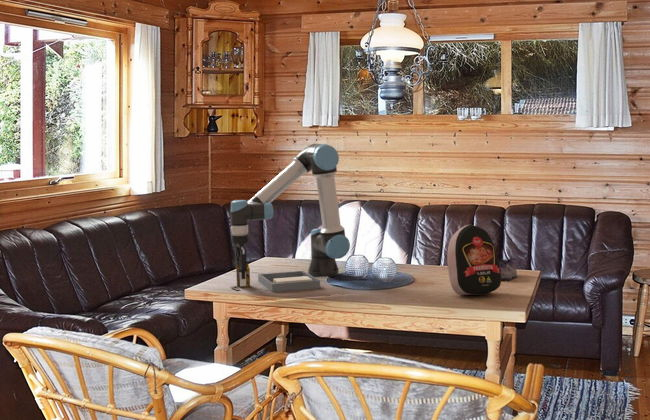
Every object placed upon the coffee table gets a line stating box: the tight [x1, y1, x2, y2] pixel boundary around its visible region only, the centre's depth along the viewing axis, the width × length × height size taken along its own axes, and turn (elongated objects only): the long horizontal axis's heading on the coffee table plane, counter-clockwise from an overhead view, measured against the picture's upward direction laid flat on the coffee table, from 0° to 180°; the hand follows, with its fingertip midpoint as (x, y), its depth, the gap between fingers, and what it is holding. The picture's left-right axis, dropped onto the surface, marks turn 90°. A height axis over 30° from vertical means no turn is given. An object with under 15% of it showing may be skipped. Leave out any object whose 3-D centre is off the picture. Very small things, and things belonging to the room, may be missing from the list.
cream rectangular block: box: [273, 276, 312, 284], centre depth 395 cm, size 16×8×4 cm, turn 108°
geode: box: [499, 257, 518, 281], centre depth 416 cm, size 20×12×10 cm, turn 152°
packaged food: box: [446, 224, 502, 296], centre depth 379 cm, size 22×20×30 cm
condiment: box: [230, 260, 251, 291], centre depth 400 cm, size 7×8×12 cm
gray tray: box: [257, 270, 321, 293], centre depth 402 cm, size 22×26×4 cm
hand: (241, 284), depth 400 cm, fingers closed on condiment, 6 cm apart
